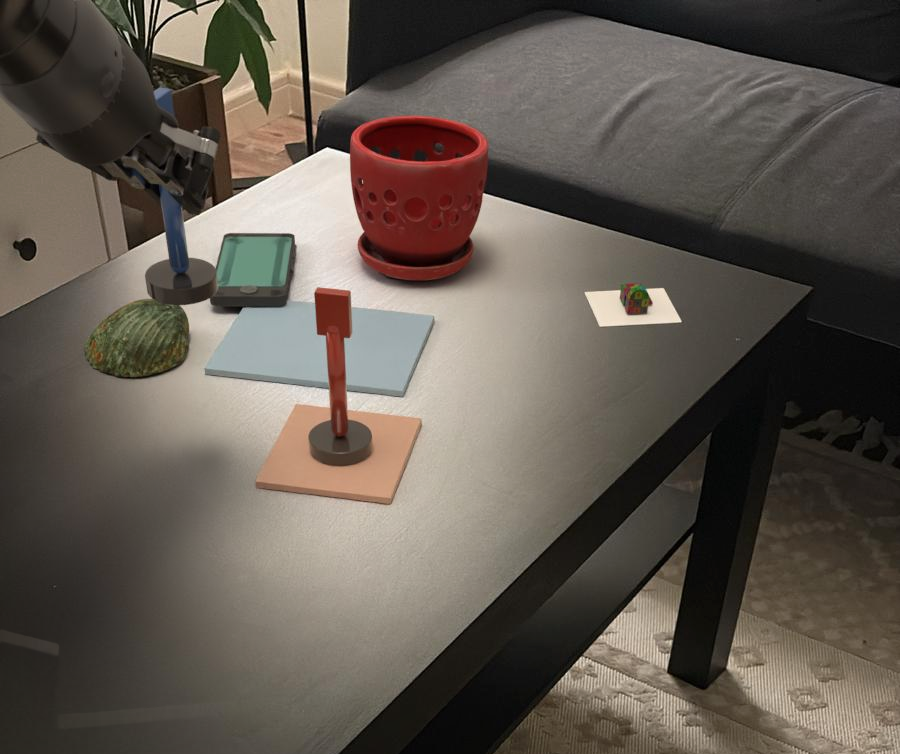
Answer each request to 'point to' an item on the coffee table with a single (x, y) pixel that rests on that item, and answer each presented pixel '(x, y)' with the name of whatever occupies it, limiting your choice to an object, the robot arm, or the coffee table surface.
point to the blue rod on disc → (178, 251)
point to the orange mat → (358, 481)
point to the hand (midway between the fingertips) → (185, 198)
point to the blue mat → (322, 348)
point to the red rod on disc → (337, 386)
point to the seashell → (139, 339)
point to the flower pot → (417, 194)
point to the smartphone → (254, 269)
